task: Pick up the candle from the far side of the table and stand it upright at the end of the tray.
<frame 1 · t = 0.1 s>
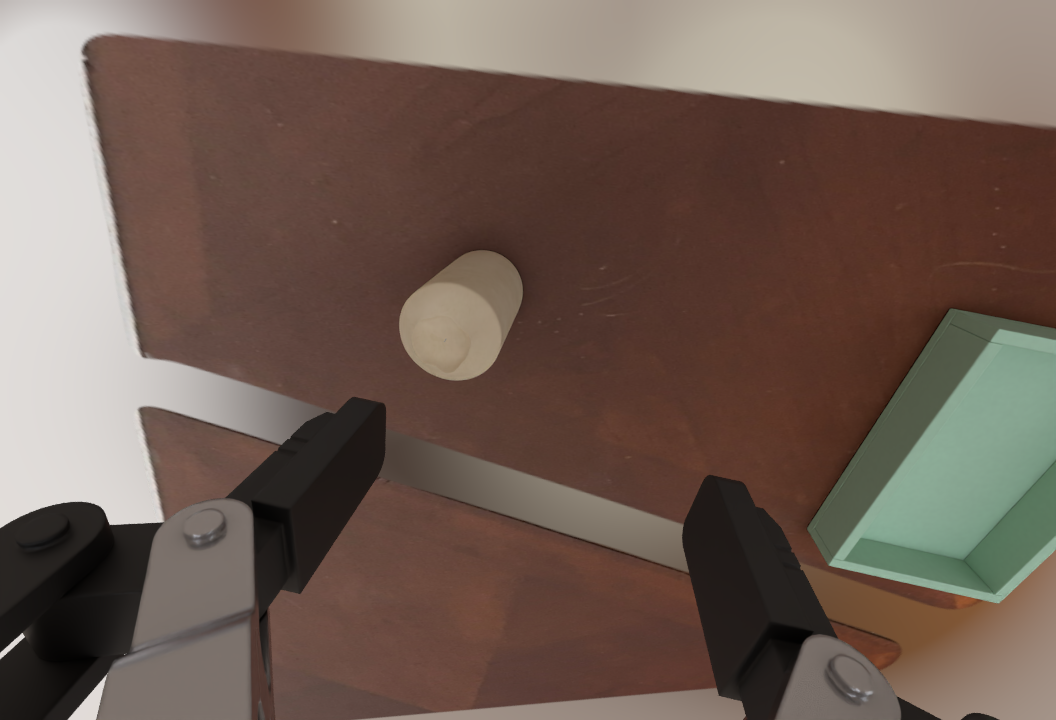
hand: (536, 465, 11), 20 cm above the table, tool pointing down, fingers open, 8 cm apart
tray: (956, 452, 31), on the table
candle: (485, 287, 30), on the table
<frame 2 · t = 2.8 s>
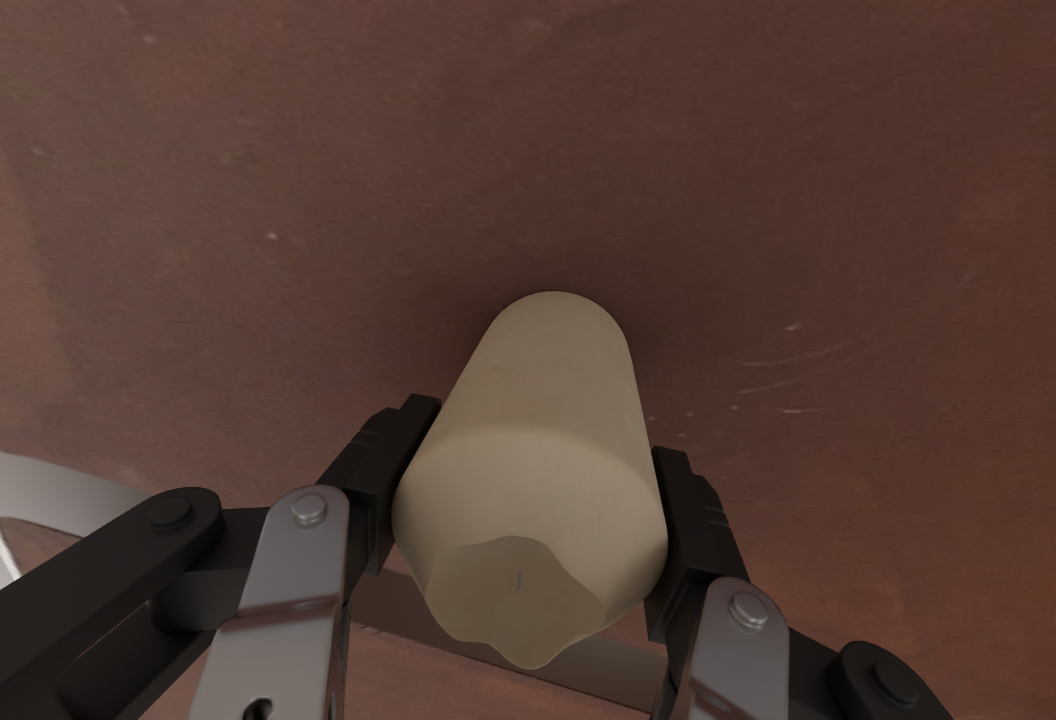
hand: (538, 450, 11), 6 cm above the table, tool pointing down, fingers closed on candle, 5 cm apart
candle: (555, 357, 16), on the table, touching gripper
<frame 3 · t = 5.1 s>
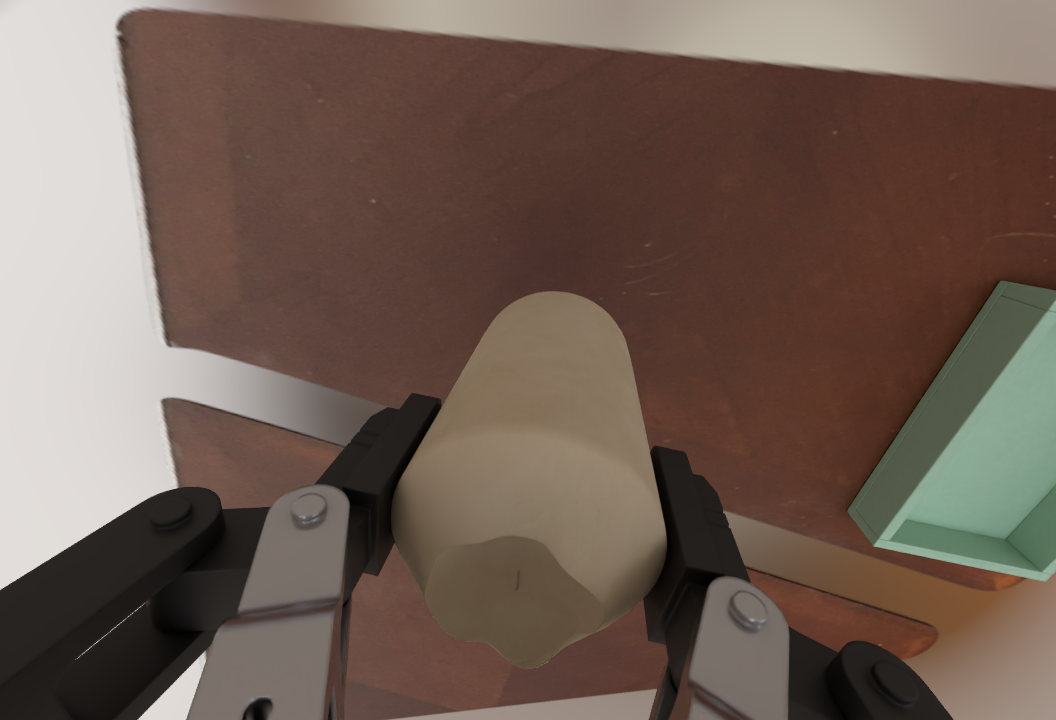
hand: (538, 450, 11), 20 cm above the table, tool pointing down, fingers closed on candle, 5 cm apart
tray: (1001, 428, 31), on the table
candle: (554, 357, 16), point 14 cm above the table, touching gripper
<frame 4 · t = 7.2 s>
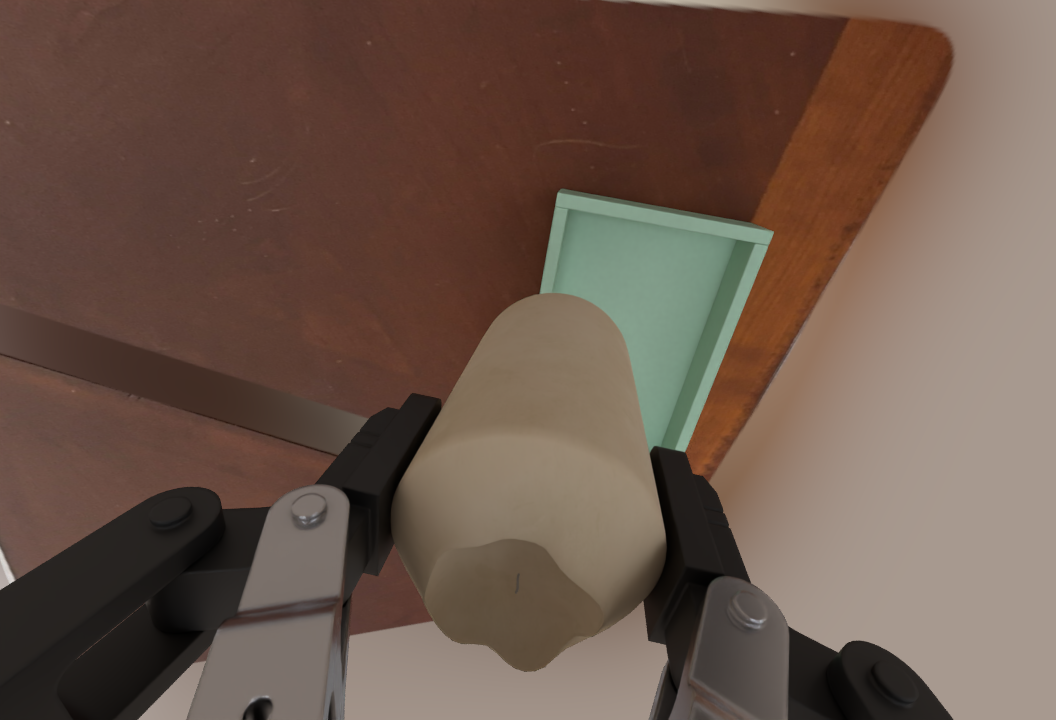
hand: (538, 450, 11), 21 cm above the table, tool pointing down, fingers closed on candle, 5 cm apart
tray: (618, 341, 32), on the table
candle: (554, 358, 16), point 15 cm above the table, touching gripper
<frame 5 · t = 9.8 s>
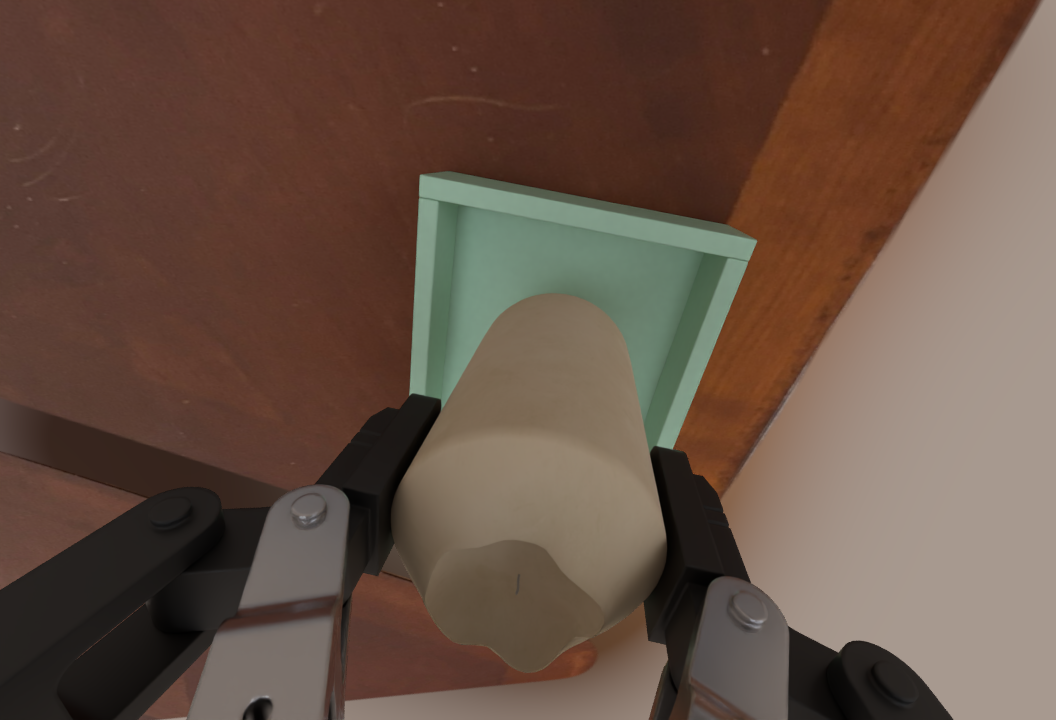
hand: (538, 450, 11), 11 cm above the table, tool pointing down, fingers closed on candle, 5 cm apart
tray: (545, 386, 23), on the table
candle: (554, 359, 16), point 6 cm above the table, touching gripper
when the fingers open (6 cm above the table, at t = 11.6 s): candle stays where it is, resting on tray.
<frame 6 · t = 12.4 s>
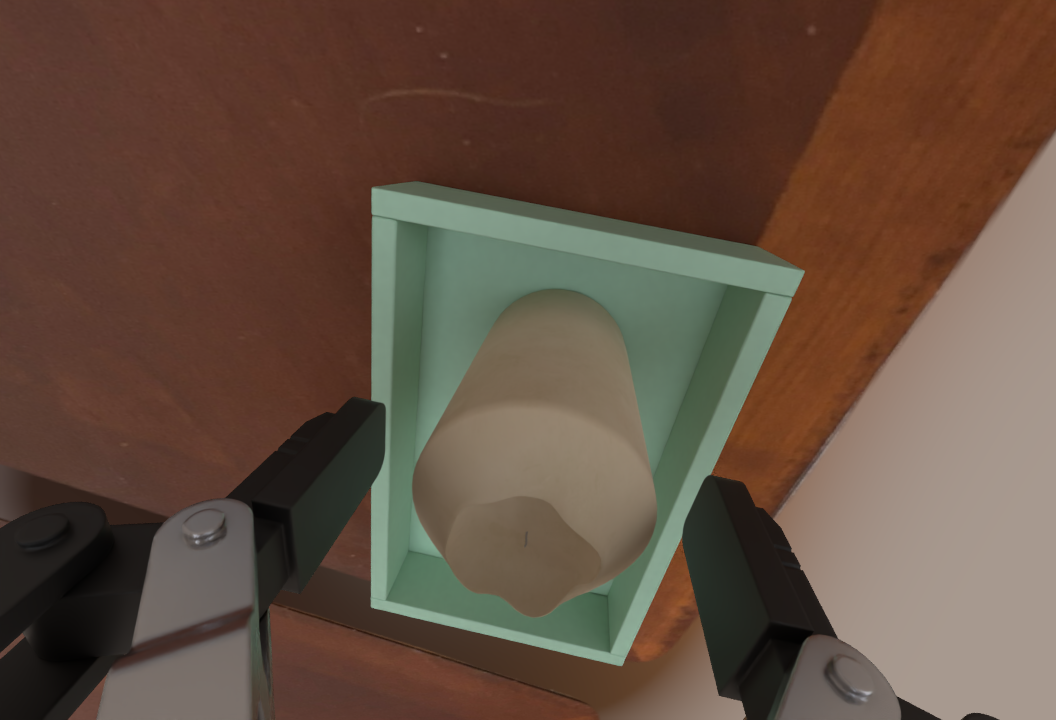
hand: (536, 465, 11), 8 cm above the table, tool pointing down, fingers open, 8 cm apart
tray: (537, 432, 20), on the table
candle: (556, 351, 17), resting on tray
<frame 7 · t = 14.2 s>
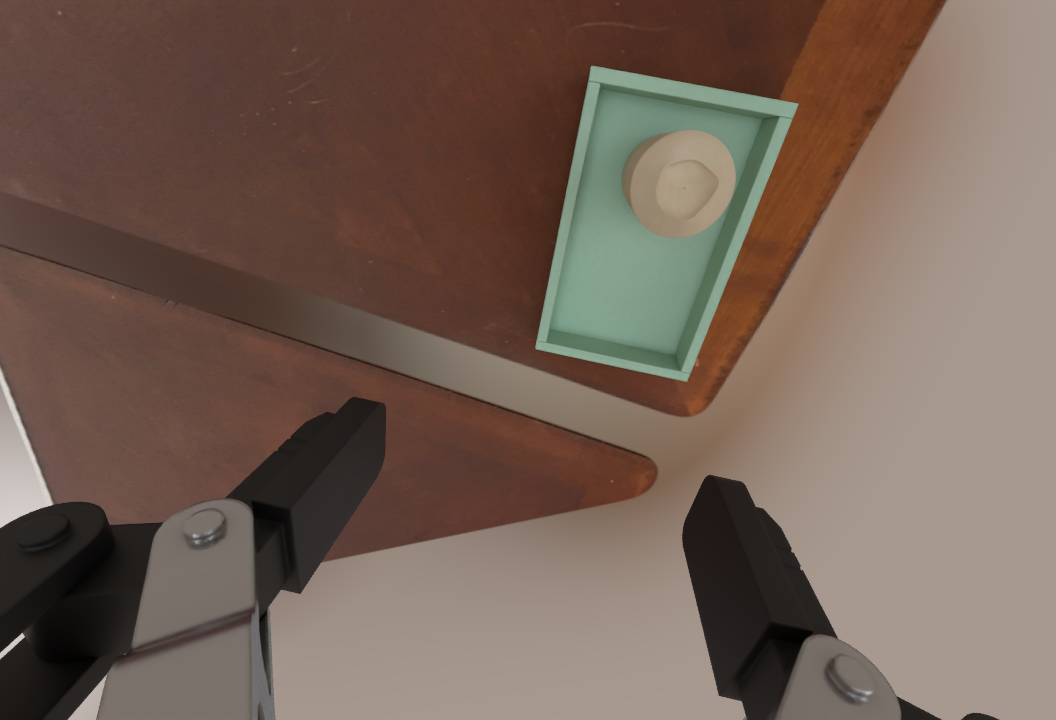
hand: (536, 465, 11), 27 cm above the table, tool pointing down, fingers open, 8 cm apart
tray: (641, 236, 33), on the table
candle: (659, 176, 31), resting on tray
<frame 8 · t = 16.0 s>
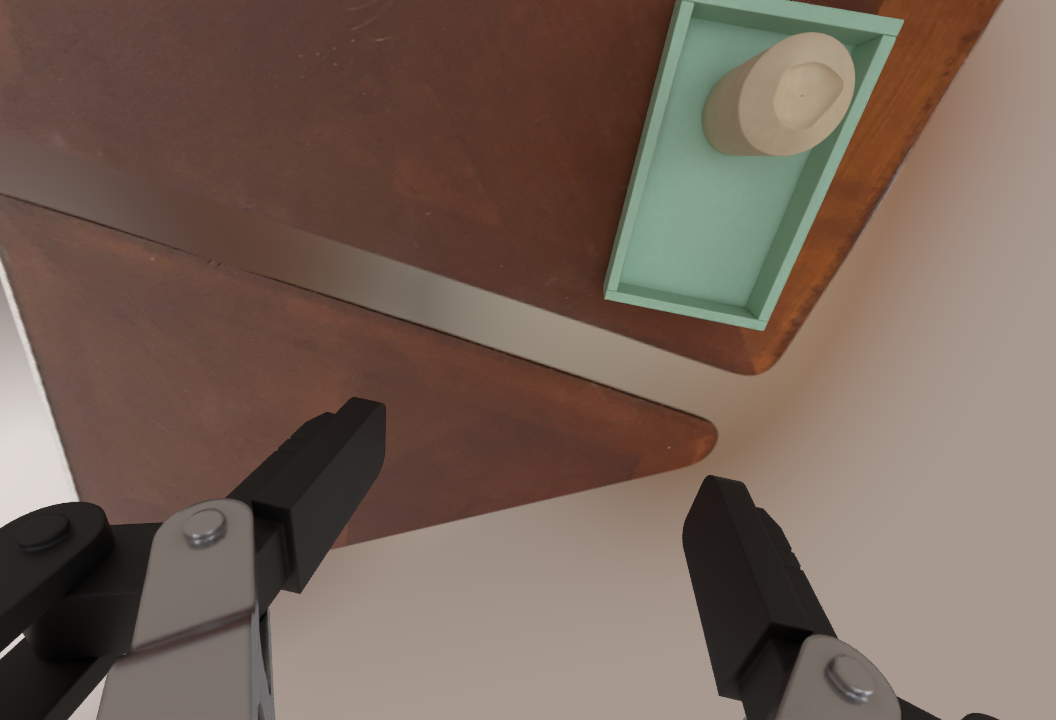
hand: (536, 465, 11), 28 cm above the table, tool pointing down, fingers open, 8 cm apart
tray: (716, 179, 32), on the table
candle: (741, 112, 30), resting on tray
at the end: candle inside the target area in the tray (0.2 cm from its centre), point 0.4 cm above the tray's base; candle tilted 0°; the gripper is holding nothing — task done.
